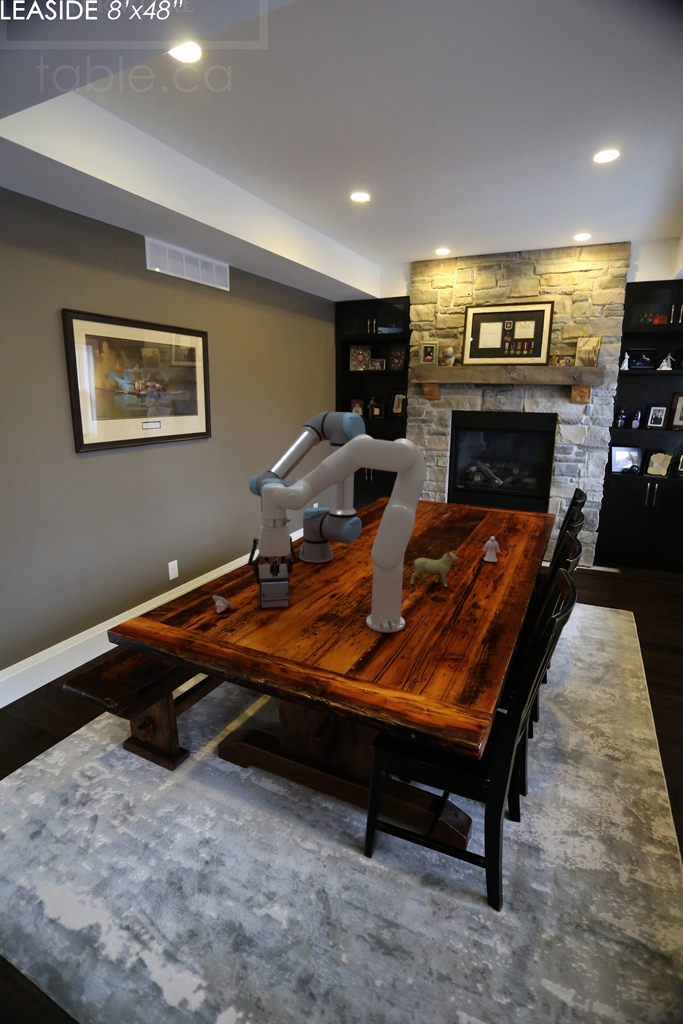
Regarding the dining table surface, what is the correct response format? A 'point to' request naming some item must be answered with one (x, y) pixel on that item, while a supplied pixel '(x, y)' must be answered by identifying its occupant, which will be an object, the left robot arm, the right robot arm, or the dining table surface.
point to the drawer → (274, 593)
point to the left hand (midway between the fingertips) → (273, 582)
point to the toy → (434, 567)
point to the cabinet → (266, 576)
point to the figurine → (491, 550)
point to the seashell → (221, 603)
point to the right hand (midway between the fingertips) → (274, 575)
